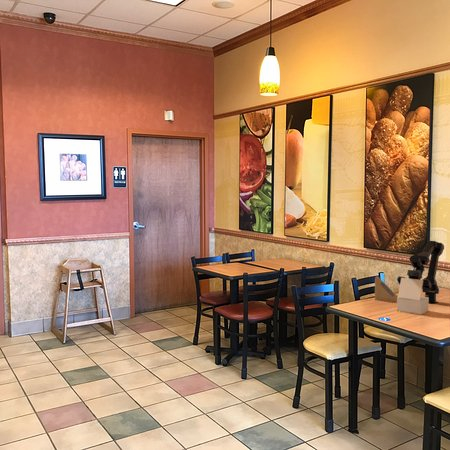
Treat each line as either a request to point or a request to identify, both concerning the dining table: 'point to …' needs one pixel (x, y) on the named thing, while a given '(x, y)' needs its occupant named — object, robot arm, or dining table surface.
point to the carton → (413, 305)
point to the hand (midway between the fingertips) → (409, 294)
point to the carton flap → (410, 289)
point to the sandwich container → (383, 291)
